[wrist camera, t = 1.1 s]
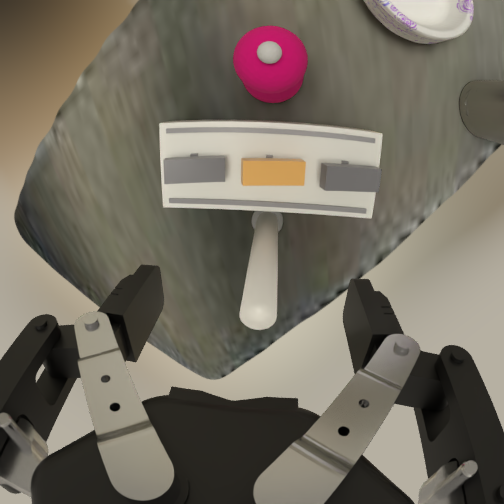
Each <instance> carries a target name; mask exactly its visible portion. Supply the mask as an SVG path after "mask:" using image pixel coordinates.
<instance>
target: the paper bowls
mask: <svg viewBox="0 0 504 504" xmlns="http://www.w3.org/2000/svg"><path fill="white" fill-rule="evenodd" d="M364 2H365V4H366V5H367V7H368V8H369V10H370V11H371V12H372V14H373V15H374V16H375V17H376V18H377V19H378V20H379V21H380V22H381V23H382V24H383V25H384V26H385V27H386V28H388V29H389V30H390V31H392V32H393V33H395V34H397V35H399V36H401V37H403V38H405V39H407V40H410V41H413V42H417V43H423V44H433V43H439V42H443V41H446V40H450V39H453V38H456V37H458V36H461V35H462V34H464V33H465V32H466V31H467V29H468V28H469V26H470V24H471V22H472V19H473V2H472V0H364Z"/></svg>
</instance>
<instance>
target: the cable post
mask: <svg viewBox="0 0 504 504" xmlns="http://www.w3.org/2000/svg"><path fill="white" fill-rule="evenodd" d="M282 225H283V217H282V214H281V212H273V211H254V213H253V216H252V226H253V228H254V230H255V232H254V237H253V243H252V248H251V254H250V259H249V265H248V270H247V276H246V281H245V287H244V292H243V298H242V303H241V309H240V319H241V321H242V322H243V323H244V324H245V325H246V326H247V327H249V328H252V329H256V330H262V329H266V328H269V327H270V326H272V325H273V324H274V323H275V321H276V318H277V272H278V232H279V231H280V230H281V228H282Z"/></svg>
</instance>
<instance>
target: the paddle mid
mask: <svg viewBox="0 0 504 504" xmlns="http://www.w3.org/2000/svg"><path fill="white" fill-rule="evenodd" d="M305 167H306V162H305V161H304V160H302V159H285V158H241V183H242V185H243V186H304V181H305Z"/></svg>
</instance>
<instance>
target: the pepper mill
mask: <svg viewBox="0 0 504 504" xmlns="http://www.w3.org/2000/svg"><path fill="white" fill-rule="evenodd" d="M233 63H234V68H235V70H236V73H237V75H238V76H239V78H240V79H241V80H242V82H243V84H244V86H245V88H246V89H247V91H248V92H249V93H250V94H251V95H252V96H253V97H255V98H257V99H258V100H261V101H263V102H268V103H279V102H282V101H285V100H288V99H290V98H291V97H292V96H294V95H295V94H296V93H297V92H298V90H299V89H300V87H301V85H302V82H303V76H304V74H305V71H306V68H307V63H308V57H307V52H306V49H305V47H304V45H303V43H302V42H301V40H300V39H299V38H298V37H297V36H296V35H295V34H293V33H292V32H290V31H288V30H286V29H284V28H281V27H277V26H262V27H258V28H255V29H253V30H251V31H249V32H248V33H246V34H245V35H244V36H243V37H242V38H241V39H240V40H239V42H238V43H237V45H236V48H235V51H234V55H233Z"/></svg>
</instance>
